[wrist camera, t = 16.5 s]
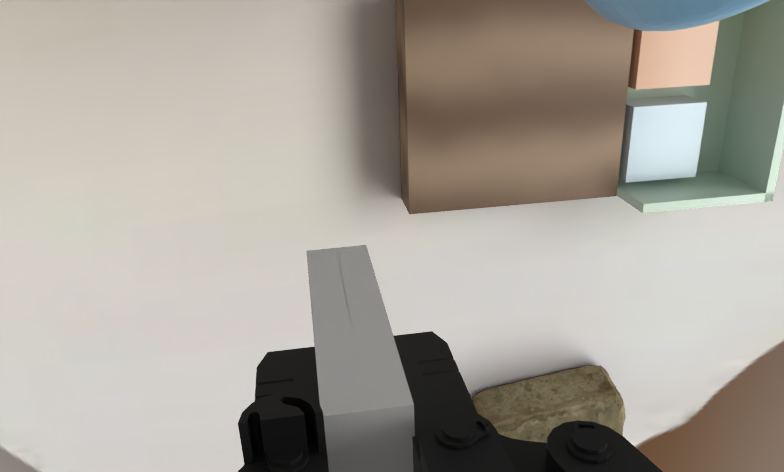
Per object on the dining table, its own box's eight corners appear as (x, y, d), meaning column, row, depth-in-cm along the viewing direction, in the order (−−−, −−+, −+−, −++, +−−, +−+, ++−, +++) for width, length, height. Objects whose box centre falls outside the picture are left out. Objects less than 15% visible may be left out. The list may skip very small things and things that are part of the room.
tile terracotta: (625, 2, 41) (645, 4, 39) (699, -1, 42) (722, 1, 39) (617, 83, 43) (635, 89, 41) (688, 78, 44) (709, 84, 41)
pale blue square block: (616, 100, 43) (634, 107, 41) (685, 95, 44) (707, 102, 42) (608, 172, 45) (625, 182, 43) (675, 166, 46) (695, 176, 44)
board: (395, -5, 39) (404, -3, 37) (614, -15, 41) (638, -13, 38) (401, 198, 44) (409, 214, 42) (596, 182, 46) (616, 195, 43)
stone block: (463, 389, 51) (481, 430, 47) (601, 354, 52) (631, 391, 48) (473, 445, 54) (491, 490, 49) (604, 411, 55) (634, 451, 50)
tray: (622, -20, 41) (671, -18, 36) (753, -26, 42) (818, -24, 37) (602, 185, 46) (642, 213, 41) (719, 175, 47) (772, 201, 42)
